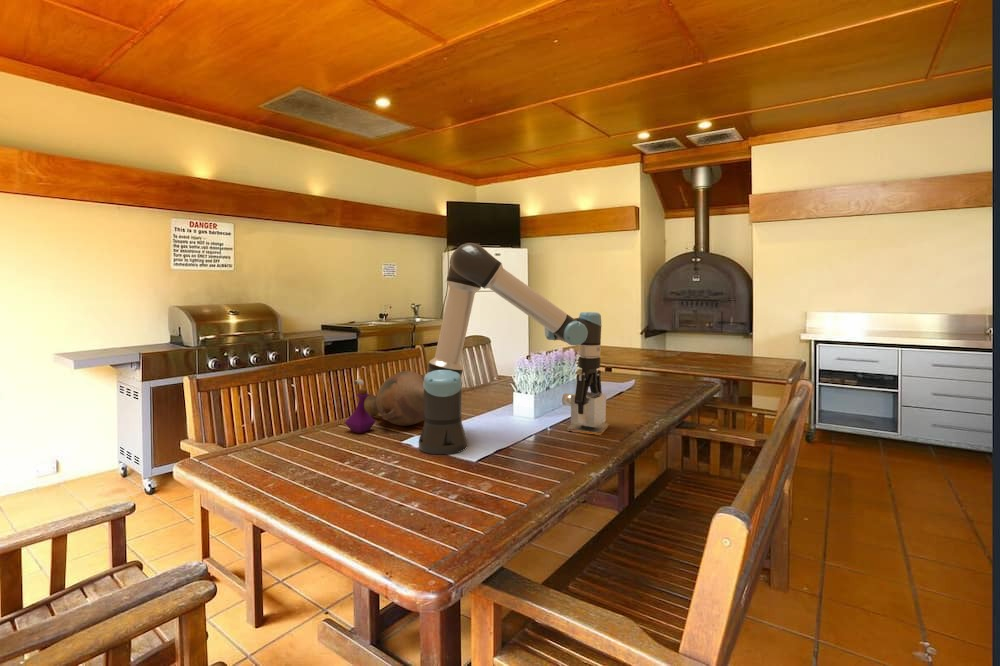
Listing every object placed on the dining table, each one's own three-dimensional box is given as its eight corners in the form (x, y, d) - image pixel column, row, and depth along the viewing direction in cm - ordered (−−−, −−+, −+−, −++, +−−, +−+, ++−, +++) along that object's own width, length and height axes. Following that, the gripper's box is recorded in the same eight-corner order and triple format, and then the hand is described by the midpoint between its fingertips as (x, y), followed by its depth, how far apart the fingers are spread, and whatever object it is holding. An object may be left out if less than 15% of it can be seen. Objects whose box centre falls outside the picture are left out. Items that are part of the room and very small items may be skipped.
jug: (443, 425, 185) (389, 425, 204) (444, 371, 189) (390, 376, 207) (399, 425, 170) (345, 426, 188) (401, 366, 173) (348, 372, 192)
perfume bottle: (376, 430, 179) (375, 379, 177) (359, 435, 173) (358, 382, 171) (361, 426, 183) (360, 377, 181) (344, 431, 177) (343, 380, 175)
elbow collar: (605, 421, 182) (606, 394, 181) (594, 427, 175) (594, 398, 174) (570, 415, 190) (571, 389, 189) (558, 420, 183) (558, 393, 182)
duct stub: (566, 431, 178) (567, 405, 177) (576, 423, 189) (576, 398, 188) (600, 435, 173) (601, 409, 172) (608, 427, 184) (609, 401, 183)
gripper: (584, 361, 168) (583, 428, 170) (612, 354, 185) (611, 415, 187) (564, 359, 172) (563, 424, 174) (593, 352, 190) (592, 412, 192)
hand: (588, 419), depth 181 cm, fingers closed on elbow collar, 9 cm apart
